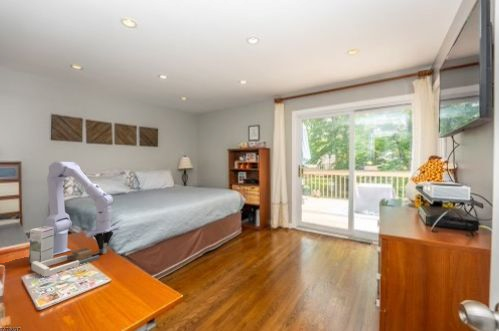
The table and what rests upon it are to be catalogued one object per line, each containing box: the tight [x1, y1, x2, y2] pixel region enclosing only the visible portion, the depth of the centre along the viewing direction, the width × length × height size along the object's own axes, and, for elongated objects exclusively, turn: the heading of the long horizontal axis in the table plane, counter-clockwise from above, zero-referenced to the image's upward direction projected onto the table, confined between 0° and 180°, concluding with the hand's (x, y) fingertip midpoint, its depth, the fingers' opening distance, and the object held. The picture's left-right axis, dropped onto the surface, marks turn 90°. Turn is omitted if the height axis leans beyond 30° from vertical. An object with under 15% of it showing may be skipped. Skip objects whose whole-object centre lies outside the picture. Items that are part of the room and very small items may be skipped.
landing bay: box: [66, 253, 100, 266], centre depth 101 cm, size 12×8×2 cm, turn 62°
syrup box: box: [29, 226, 54, 264], centre depth 98 cm, size 6×6×14 cm
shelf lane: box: [30, 254, 79, 278], centre depth 92 cm, size 12×12×3 cm
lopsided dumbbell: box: [71, 242, 108, 262], centre depth 104 cm, size 6×12×5 cm, turn 152°
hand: (103, 247), depth 108 cm, fingers closed on lopsided dumbbell
